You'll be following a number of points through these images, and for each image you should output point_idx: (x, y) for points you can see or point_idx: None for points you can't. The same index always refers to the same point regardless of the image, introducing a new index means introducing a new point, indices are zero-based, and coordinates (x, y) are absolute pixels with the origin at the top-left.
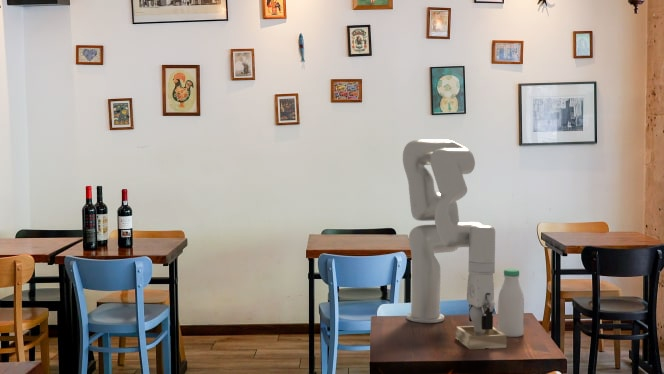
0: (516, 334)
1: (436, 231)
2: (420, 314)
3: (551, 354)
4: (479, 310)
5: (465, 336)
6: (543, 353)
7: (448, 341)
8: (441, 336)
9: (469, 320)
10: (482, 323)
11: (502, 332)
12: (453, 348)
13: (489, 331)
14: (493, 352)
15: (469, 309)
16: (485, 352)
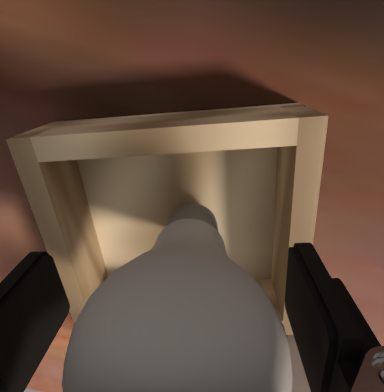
0: None
1: None
2: None
3: None
4: (63, 385)
5: (107, 127)
6: (39, 364)
7: (236, 29)
8: (379, 8)
9: (302, 243)
10: (3, 282)
11: (289, 344)
12: (64, 17)
13: None
14: (18, 218)
15: (348, 323)
16: (11, 184)
